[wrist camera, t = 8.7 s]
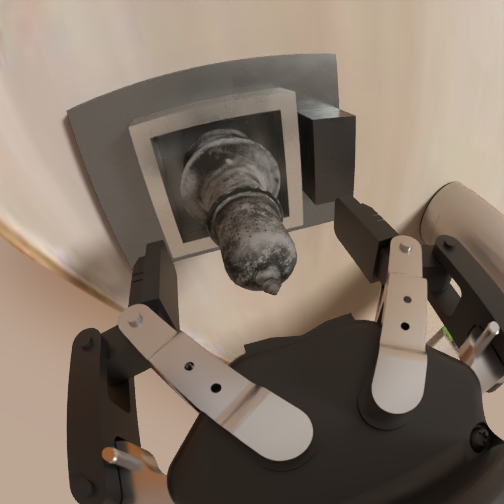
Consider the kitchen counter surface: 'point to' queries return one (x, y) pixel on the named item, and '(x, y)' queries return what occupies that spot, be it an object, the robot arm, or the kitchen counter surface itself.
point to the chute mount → (204, 120)
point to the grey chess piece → (239, 207)
